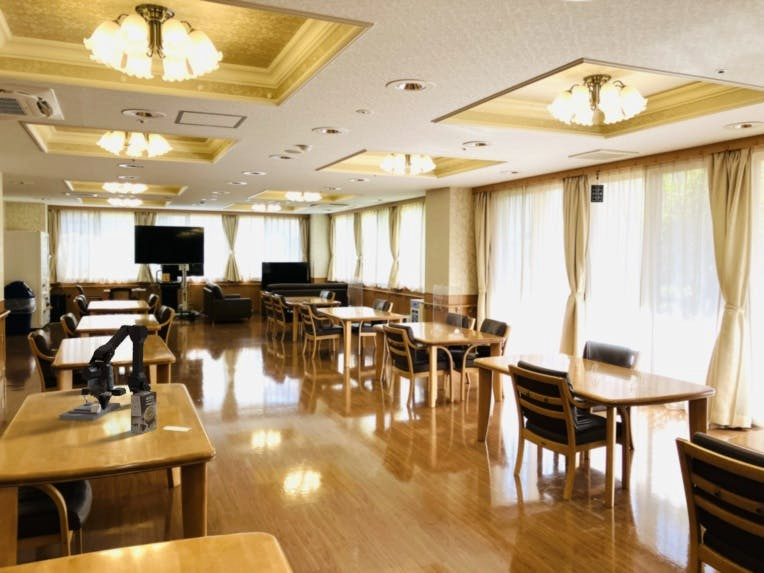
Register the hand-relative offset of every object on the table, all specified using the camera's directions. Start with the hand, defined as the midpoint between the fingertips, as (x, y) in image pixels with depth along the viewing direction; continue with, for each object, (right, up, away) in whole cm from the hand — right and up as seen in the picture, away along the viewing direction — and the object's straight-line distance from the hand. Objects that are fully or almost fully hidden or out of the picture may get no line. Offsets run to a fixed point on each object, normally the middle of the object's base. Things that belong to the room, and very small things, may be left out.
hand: (104, 409), depth 270 cm
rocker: (-7, +1, +13) cm, 14 cm away
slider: (-4, -1, 0) cm, 4 cm away
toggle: (-14, 0, +13) cm, 19 cm away
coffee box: (+26, -5, -18) cm, 32 cm away
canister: (-26, 0, +51) cm, 58 cm away
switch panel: (-9, -3, +7) cm, 12 cm away
